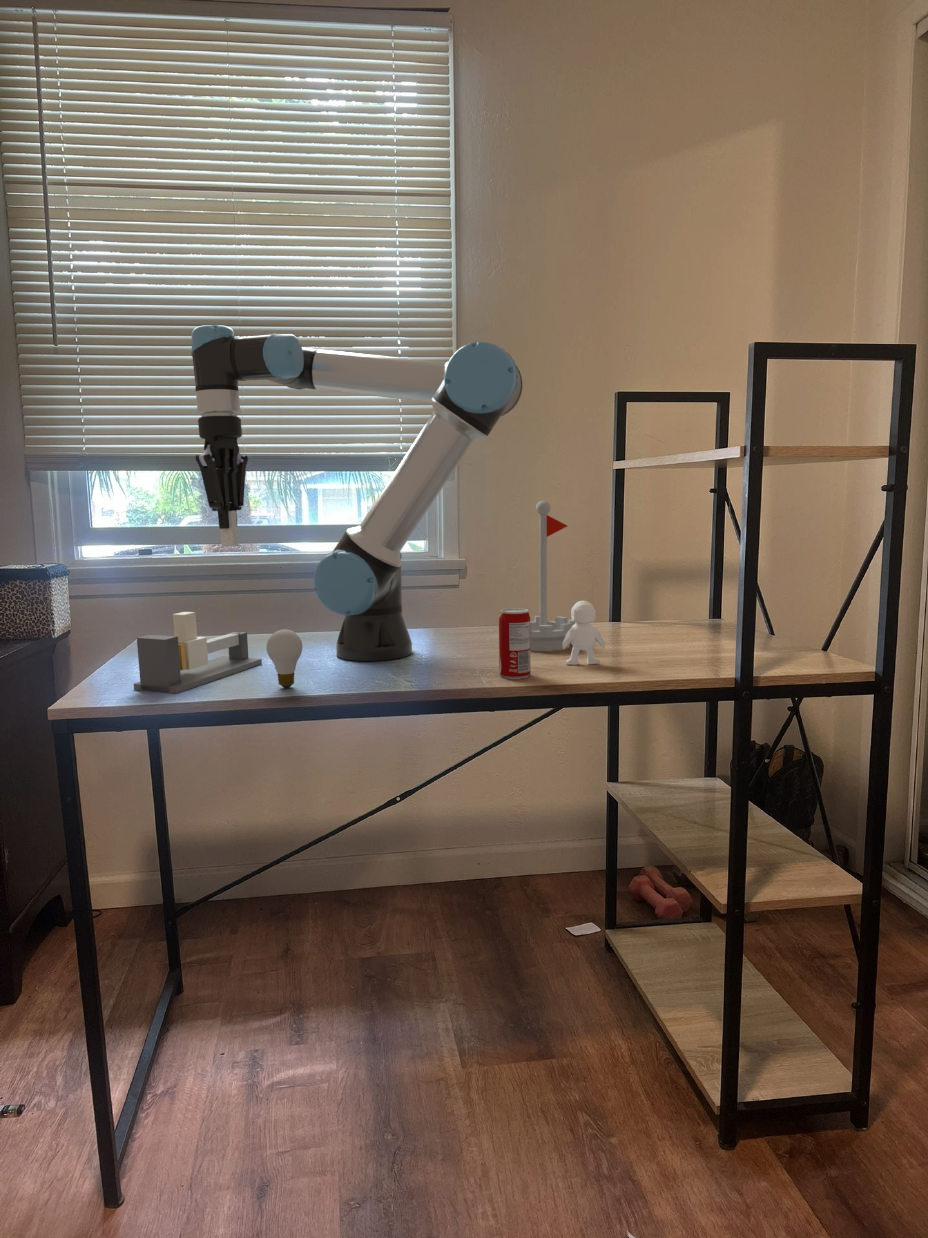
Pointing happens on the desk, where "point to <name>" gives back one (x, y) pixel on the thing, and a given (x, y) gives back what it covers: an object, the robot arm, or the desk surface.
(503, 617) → the soda can
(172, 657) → the rail
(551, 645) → the flag stand
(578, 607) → the figurine
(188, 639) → the sleeve
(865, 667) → the desk surface
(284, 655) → the light bulb
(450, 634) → the desk surface
